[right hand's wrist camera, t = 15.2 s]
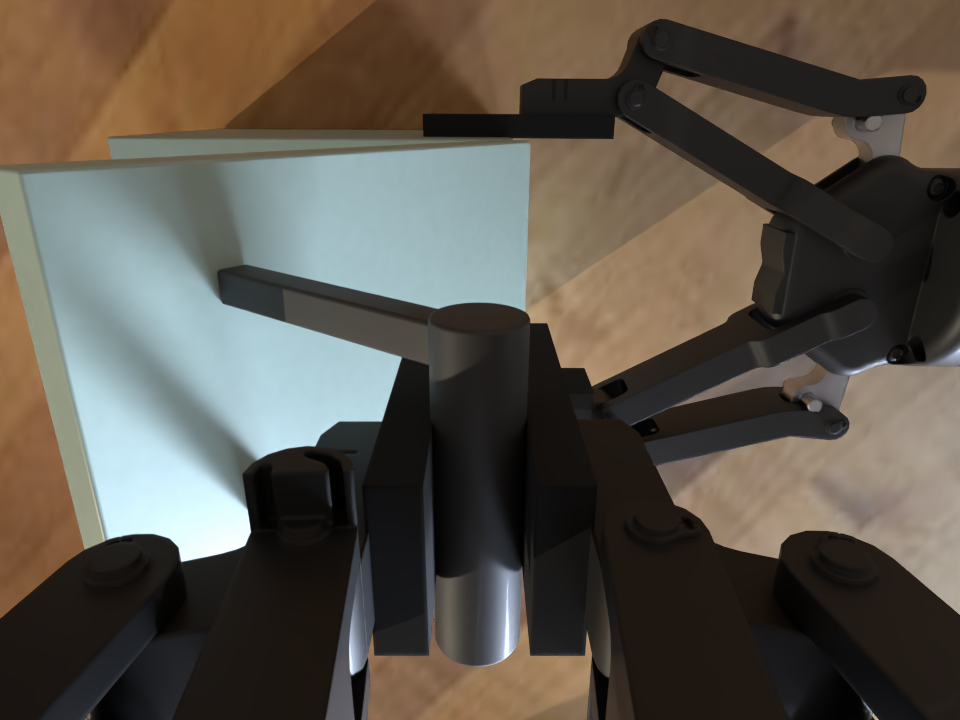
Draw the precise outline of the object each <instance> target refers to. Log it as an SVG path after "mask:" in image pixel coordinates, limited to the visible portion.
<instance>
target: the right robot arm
mask: <svg viewBox="0 0 960 720" xmlns="http://www.w3.org/2000/svg"><path fill="white" fill-rule="evenodd" d="M242 476H243V483H244V489H245V496H246V503H247V509H248V516H249V523H250V530H251V533H250V535H249V537H248V540H247V542H246V545H245V546H243V547H241V548H238V549H236V550H232V551H229V552H225V553H221V554H217V555H212V556H207V557H202V558H198V559H193V560H188V561H183V562H181V557H180V552H179V547H178V546H177V545H176V544H175V543H174V542H173V541H172V540H171V539H170V538H167V537H163V536H160V535H156V534H131V535H124V536H122V537H115V538H111V539H108V540H106V541H104V542H102V543H99V544H97V545H94V546H92V547H90V548H87V549H85V550H84V551H82V552H81V553H79V554H78V555H76V556H75V557H73V558H72V559H70V560H69V561H67V562H66V563H65V564H64V565H63V566H61V567H60V568H59V569H58V570H57V571H56V572H54V573H53V574H52V575H51V576H50V577H49V578H47V579H46V580H45V581H44V582H43V583H42V584H40V585H39V586H38V587H37V588H36V589H35V590H33V591H32V592H31V593H30V594H29V595H27V596H26V597H25V598H24V599H23V600H22V601H20V602H19V603H18V604H17V605H16V606H15V607H13V608H12V609H11V610H10V611H9V612H8V613H6V614H5V615H4V616H3V617H2V618H1V619H0V720H84V719H85V718H86V717H87V716H88V720H367V713H368V703H369V693H370V675H369V663H368V651H369V646H370V642H371V637H372V632H373V642H374V655H375V656H429V651H430V640H431V629H432V618H433V608H434V597H435V586H436V575H437V573H436V537H435V501H434V464H433V428H432V421H431V419H430V388H429V365H426V364H423V363H419V362H416V361H413V360H409V359H406V358H403V357H402V358H401V362H400V365H399V368H398V371H397V375H396V378H395V381H394V384H393V387H392V391H391V394H390V397H389V400H388V403H387V407H386V410H385V413H384V416H383V420H382V421H339V422H338V423H336V424H335V425H333V426H332V427H331V428H329V429H328V430H327V431H325V432H324V433H323V434H321V435H320V437H319V440H318V442H317V444H316V446H303V447H295V448H287V449H284V450H280V451H277V452H274V453H271V454H267V455H266V456H264V457H262V458H260V459H259V460H257V461H255V462H253V463H252V464H251V465H250V466H249V467H248V468H247V469H246V470H245V472H244V473H243V474H242ZM522 569H523V580H524V591H525V602H526V613H527V624H528V635H529V646H530V656H585V648H586V635H587V631H588V636H589V641H590V646H591V651H592V663H591V675H590V688H589V700H588V713H587V720H875V719H874V718H873V717H872V714H873V713H874V714H875V716H876V717H877V718H878V719H879V720H960V615H959V614H958V613H957V612H956V611H954V610H953V609H952V608H951V607H950V606H949V605H947V604H946V603H945V602H944V601H943V600H941V599H940V598H939V597H938V596H937V595H936V594H934V593H933V592H932V591H931V590H930V589H928V588H927V587H926V586H925V585H924V584H923V583H921V582H920V581H919V580H918V579H917V578H916V577H914V576H913V575H912V574H911V573H910V572H908V571H907V570H906V569H905V568H904V567H903V566H901V565H900V564H899V563H898V562H897V561H895V560H894V559H893V558H892V557H890V556H888V555H887V554H885V553H884V552H882V551H881V550H879V549H878V548H876V547H875V546H873V545H871V544H868V543H866V542H863V541H861V540H859V539H856V538H854V537H852V536H849V535H845V534H838V533H836V532H829V531H804V532H800V533H797V534H793V535H790V536H789V537H788V538H787V539H786V540H785V541H784V542H783V543H782V544H781V549H780V554H779V559H776V558H771V557H766V556H761V555H756V554H752V553H747V552H742V551H738V550H734V549H730V548H727V547H723V546H721V545H718V544H716V543H714V541H713V539H712V536H711V534H710V532H709V530H708V529H707V527H706V526H705V525H704V523H703V522H702V521H701V519H699V518H698V517H696V516H695V515H693V514H692V513H690V512H689V511H687V510H686V509H684V508H681V507H678V506H675V505H674V503H673V501H672V499H671V497H670V495H669V493H668V491H667V489H666V487H665V485H664V483H663V481H662V479H661V477H660V475H659V473H658V471H657V469H656V467H655V465H653V460H652V458H651V456H650V454H649V452H647V448H646V446H645V444H644V442H643V440H642V438H641V436H640V434H639V432H637V431H636V430H635V429H633V428H632V427H630V426H629V425H628V424H626V423H625V422H624V421H622V420H621V419H577V418H576V415H575V412H574V408H573V405H572V402H571V399H570V395H569V392H568V389H567V386H566V383H565V379H564V376H563V373H562V370H561V366H560V363H559V360H558V357H557V354H556V350H555V347H554V344H553V341H552V337H551V334H550V331H549V328H548V325H547V323H530V343H529V372H528V401H527V421H526V453H525V486H524V518H523V547H522Z"/></svg>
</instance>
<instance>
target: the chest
mask: <svg viewBox="0 0 960 720" xmlns="http://www.w3.org/2000/svg"><path fill="white" fill-rule="evenodd" d="M484 140H513V139H512V138H510V137H423V130H331V129H212V130H198V131H184V132H170V133H156V134H142V135H128V136H114V137H108V144H109V149H110V154H111V160H114V159H133V158H153V157H172V156H192V155H211V154H231V153H250V152H270V151H289V150H309V149H328V148H347V147H367V146H386V145H406V144H425V143H445V142H464V141H484Z"/></svg>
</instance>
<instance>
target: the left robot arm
mask: <svg viewBox="0 0 960 720" xmlns="http://www.w3.org/2000/svg"><path fill="white" fill-rule="evenodd" d="M663 71H664V72H667V73H670V74H674V75H677V76H680V77H683V78H687V79H690V80H693V81H697V82H700V83H703V84H706V85H710V86H713V87H716V88H720V89H723V90H726V91H729V92H733V93H736V94H739V95H742V96H746V97H749V98H752V99H756V100H759V101H762V102H765V103H769V104H772V105H775V106H779V107H782V108H785V109H788V110H792V111H795V112H798V113H802V114H807V115H812V116H822V117H833V120H832V126H833V129H834V132H835V134H836V135H837V136H838V137H840V138H843V139H848V140H851V141H853V142H854V143H855V144H856V145H857V147H858V150H859V157H857V158H855V159H853V160H851V161H850V162H848V163H847V164H845V165H844V166H842V167H841V168H839V169H838V170H836V171H834V172H833V173H831V174H830V175H828V176H827V177H825V178H824V179H822V180H821V181H819V182H818V183H816V184H815V185H813V184H812V183H810V182H808V181H807V180H805V179H803V178H801V177H798V176H796V175H794V174H792V173H790V172H788V171H787V170H785V169H784V168H782V167H780V166H779V165H777V164H776V163H774V162H773V161H771V160H769V159H768V158H766V157H765V156H763V155H761V154H760V153H758V152H757V151H755V150H753V149H752V148H750V147H749V146H747V145H746V144H744V143H742V142H741V141H739V140H738V139H736V138H734V137H733V136H731V135H730V134H728V133H727V132H725V131H723V130H722V129H720V128H719V127H717V126H715V125H714V124H712V123H711V122H709V121H707V120H706V119H704V118H703V117H701V116H700V115H698V114H696V113H695V112H693V111H692V110H690V109H688V108H687V107H685V106H684V105H682V104H681V103H679V102H677V101H676V100H674V99H673V98H671V97H669V96H668V95H666V94H665V93H663V92H661V91H660V90H658V89H657V88H656V86H657V83H658V81H659V79H660V77H661V74H662V72H663ZM925 96H926V85H925V83H924V81H923V79H921V78H920V77H918V76H913V75H908V76H896V77H884V78H872V79H861V80H859V79H856V78H853V77H849V76H846V75H843V74H840V73H837V72H833V71H830V70H827V69H824V68H821V67H817V66H814V65H811V64H808V63H805V62H801V61H798V60H795V59H792V58H789V57H785V56H782V55H779V54H776V53H773V52H770V51H766V50H763V49H760V48H757V47H754V46H750V45H747V44H744V43H741V42H738V41H734V40H731V39H728V38H725V37H722V36H718V35H715V34H712V33H709V32H706V31H702V30H699V29H696V28H693V27H690V26H686V25H683V24H680V23H677V22H674V21H670V20H667V19H659V20H656V21H653V22H651V23H649V24H647V25H645V26H643V27H642V28H640V29H638V30H636V31H635V32H634V33H633V34H632V35H631V36H630V38H629V40H628V45H627V50H626V53H625V55H624V58H623V60H622V63H621V65H620V67H619V69H618V71H617V72H616V73H615V74H614V75H613V76H611V77H610V78H608V79H535V80H533V81H530V82H528V83H525V84H523V85H521V86H520V110H519V114H423V137H510V138H562V139H613V136H614V123H615V117H617V118H619V119H621V120H622V121H624V122H625V123H627V124H629V125H630V126H632V127H634V128H635V129H637V130H638V131H640V132H642V133H643V134H645V135H647V136H648V137H650V138H651V139H653V140H655V141H656V142H658V143H660V144H661V145H663V146H664V147H666V148H668V149H669V150H671V151H673V152H674V153H676V154H678V155H679V156H681V157H682V158H684V159H686V160H687V161H689V162H691V163H692V164H694V165H695V166H697V167H699V168H700V169H702V170H704V171H705V172H707V173H708V174H710V175H712V176H713V177H715V178H717V179H718V180H720V181H722V182H723V183H725V184H726V185H728V186H730V187H731V188H733V189H735V190H736V191H738V192H739V193H741V194H743V195H744V196H745V197H746V198H747V199H749V200H750V201H752V202H753V203H755V204H757V205H758V206H760V207H762V208H763V209H765V210H767V211H768V212H770V213H771V214H773V215H774V216H773V217H772V219H771V221H770V223H769V224H763V230H762V237H761V252H762V265H761V268H760V270H759V272H758V274H757V277H756V279H755V281H754V287H753V293H752V300H753V301H754V302H755V303H754V304H752V305H750V306H748V307H746V308H744V309H742V310H740V311H738V312H735V313H734V314H732V315H731V316H730V317H729V318H728V320H727V321H726V322H725V323H724V324H722V325H720V326H718V327H716V328H714V329H711V330H709V331H707V332H705V333H703V334H701V335H699V336H697V337H695V338H693V339H690V340H688V341H686V342H684V343H682V344H680V345H678V346H676V347H674V348H672V349H669V350H667V351H665V352H663V353H661V354H659V355H657V356H655V357H653V358H651V359H649V360H646V361H644V362H642V363H640V364H638V365H636V366H634V367H632V368H630V369H628V370H625V371H623V372H621V373H619V374H617V375H615V376H613V377H611V378H609V379H607V380H605V381H602V382H600V383H598V384H596V385H594V386H591V384H590V381H589V379H588V376H587V374H586V371H585V369H584V368H561V370H562V373H563V376H564V379H565V383H566V386H567V389H568V392H569V395H570V399H571V402H572V405H573V408H574V412H575V415H576V418H577V419H621V420H622V421H624V422H625V423H626V424H628V425H629V426H630V427H632V428H633V429H635V430H636V431H637V432H639V434H640V436H641V438H642V440H643V442H644V444H645V446H646V448H647V452H649V454H650V456H651V458H652V460H653V465H655V466H657V465H662V464H666V463H671V462H676V461H680V460H685V459H689V458H694V457H698V456H703V455H707V454H712V453H717V452H721V451H726V450H730V449H735V448H739V447H744V446H748V445H753V444H758V443H762V442H767V441H771V440H776V439H780V438H785V437H789V436H791V437H802V438H813V439H825V440H836V439H838V438H840V437H842V436H843V435H844V434H846V432H847V430H848V429H849V421H848V418H847V417H846V416H844V415H843V414H842V413H841V412H840V411H839V408H840V405H841V402H842V399H843V396H844V392H845V389H846V386H847V383H848V380H849V377H850V376H851V375H855V374H858V373H861V372H863V371H865V370H867V369H869V368H872V367H875V366H879V365H884V364H893V365H907V366H960V168H919V167H917V166H915V165H913V164H912V163H910V162H909V161H908V160H906V159H904V158H902V157H900V151H901V144H902V136H903V129H904V122H905V114H906V113H910V112H913V111H914V110H916V109H917V108H918V107H920V105H921V104H922V102H923V101H924V99H925ZM803 353H805V354H806V355H807V356H808V357H810V358H811V359H812V360H813V361H815V362H816V365H815V368H814V369H813V370H812V372H810V373H809V374H808V375H805V376H803V377H796V378H791V377H790V378H787V379H786V380H784V382H783V387H763V388H757V389H752V390H747V391H743V392H738V393H734V394H730V395H725V396H721V397H716V398H712V399H708V400H703V401H699V402H694V403H690V404H685V405H681V406H677V407H673V406H675V405H677V404H679V403H681V402H684V401H686V400H688V399H690V398H692V397H694V396H697V395H699V394H701V393H703V392H705V391H707V390H710V389H712V388H714V387H716V386H718V385H720V384H723V383H725V382H727V381H729V380H731V379H733V378H736V377H738V376H740V375H742V374H744V373H747V372H749V371H751V370H753V369H755V368H758V367H774V366H777V365H779V364H782V363H784V362H786V361H788V360H790V359H793V358H795V357H797V356H799V355H801V354H803ZM671 407H672V408H671Z"/></svg>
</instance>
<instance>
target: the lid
mask: <svg viewBox="0 0 960 720" xmlns="http://www.w3.org/2000/svg"><path fill="white" fill-rule="evenodd" d="M529 171H530V142H529V141H521V140H484V141H464V142H445V143H425V144H406V145H386V146H367V147H347V148H328V149H309V150H289V151H270V152H250V153H231V154H211V155H192V156H172V157H153V158H133V159H114V160H94V161H75V162H55V163H36V164H16V165H0V215H1V219H2V223H3V227H4V231H5V235H6V239H7V242H8V246H9V250H10V254H11V258H12V262H13V266H14V270H15V274H16V278H17V282H18V286H19V290H20V294H21V298H22V302H23V306H24V310H25V314H26V318H27V322H28V326H29V330H30V334H31V338H32V342H33V346H34V350H35V354H36V358H37V362H38V366H39V370H40V374H41V378H42V382H43V386H44V390H45V394H46V398H47V402H48V406H49V410H50V414H51V417H52V421H53V425H54V429H55V433H56V437H57V441H58V445H59V449H60V453H61V457H62V461H63V465H64V469H65V473H66V477H67V481H68V485H69V489H70V493H71V497H72V501H73V505H74V509H75V513H76V517H77V521H78V525H79V529H80V533H81V537H82V541H83V545H84V549H87V548H90V547H92V546H94V545H97V544H99V543H102V542H104V541H106V540H108V539H111V538H115V537H122V536H124V535H131V534H156V535H160V536H163V537H167V538H170V539H171V540H172V541H173V542H174V543H175V544H176V545H177V546H178V547H179V552H180V557H181V562H183V561H188V560H193V559H198V558H202V557H207V556H212V555H217V554H221V553H225V552H229V551H232V550H236V549H238V548H241V547H243V546H245V545H246V542H247V540H248V537H249V535H250V533H251V530H250V523H249V516H248V509H247V503H246V496H245V489H244V483H243V476H242V474H243V473H244V472H245V470H246V469H247V468H248V467H249V466H250V465H251V464H252V463H253V462H255V461H257V460H259V459H260V458H262V457H264V456H266V455H267V454H271V453H274V452H277V451H280V450H284V449H287V448H295V447H303V446H316V444H317V442H318V440H319V437H320V435H321V434H323V433H324V432H325V431H327V430H328V429H329V428H331V427H332V426H333V425H335V424H336V423H338V422H339V421H382V420H383V416H384V413H385V410H386V407H387V403H388V400H389V397H390V394H391V391H392V387H393V384H394V381H395V378H396V375H397V371H398V368H399V365H400V362H401V358H402V357H403V358H406V359H409V360H413V361H416V362H419V363H423V364H426V365H429V388H430V419H431V421H432V428H433V464H434V501H435V537H436V573H437V575H436V586H435V597H434V608H433V618H432V619H433V620H435V637H436V641H437V644H438V646H439V648H440V649H441V651H442V652H443V653H444V654H445V655H446V656H447V657H448V658H450V659H451V660H453V661H455V662H457V663H459V664H462V665H466V666H474V667H481V666H489V665H493V664H496V663H498V662H500V661H502V660H504V659H505V658H507V657H508V656H509V655H510V654H511V653H512V652H513V651H514V649H515V648H516V646H517V644H518V641H519V635H520V606H521V577H522V547H523V518H524V486H525V453H526V421H527V401H528V372H529V343H530V318H529V316H528V314H527V313H526V312H525V299H526V267H527V235H528V203H529Z"/></svg>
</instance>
